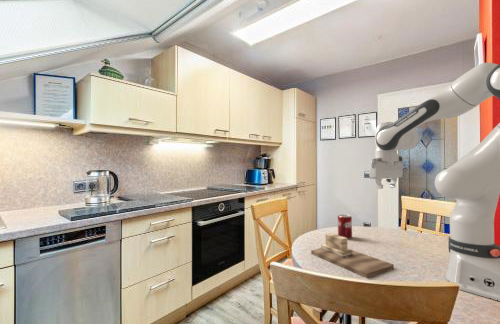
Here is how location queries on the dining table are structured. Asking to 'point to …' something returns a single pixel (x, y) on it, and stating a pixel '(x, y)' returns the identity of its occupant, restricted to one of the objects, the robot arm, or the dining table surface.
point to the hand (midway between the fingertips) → (386, 188)
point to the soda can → (345, 226)
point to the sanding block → (336, 245)
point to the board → (356, 262)
